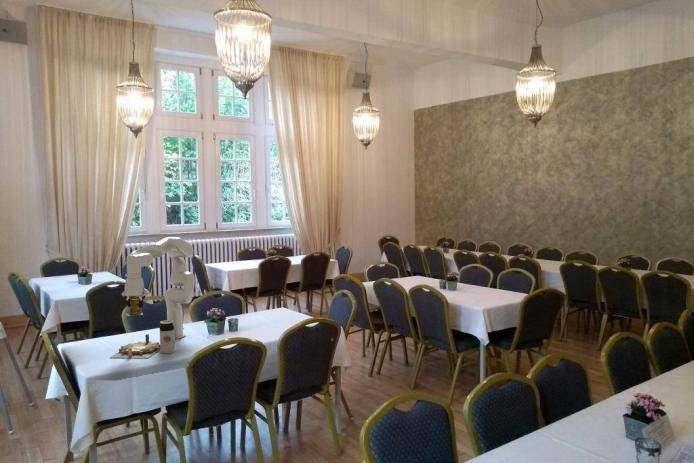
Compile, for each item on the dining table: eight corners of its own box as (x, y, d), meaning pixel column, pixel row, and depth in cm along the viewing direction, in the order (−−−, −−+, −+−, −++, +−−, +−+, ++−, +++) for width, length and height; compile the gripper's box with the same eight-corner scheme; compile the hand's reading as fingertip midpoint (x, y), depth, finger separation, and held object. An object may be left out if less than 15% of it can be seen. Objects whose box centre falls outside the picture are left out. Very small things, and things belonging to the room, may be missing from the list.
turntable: (132, 343, 333) (131, 332, 333) (168, 344, 330) (168, 333, 330) (110, 354, 310) (110, 343, 310) (149, 355, 307) (149, 344, 307)
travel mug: (162, 350, 321) (161, 320, 320) (176, 349, 322) (175, 319, 320) (158, 354, 313) (157, 323, 312) (172, 353, 314) (171, 322, 313)
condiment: (143, 314, 313) (142, 294, 313) (127, 316, 309) (127, 295, 308) (140, 312, 320) (140, 291, 319) (125, 313, 315) (124, 293, 314)
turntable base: (131, 345, 332) (130, 336, 332) (166, 345, 331) (166, 336, 331) (109, 358, 306) (109, 348, 306) (148, 358, 305) (147, 348, 304)
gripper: (116, 277, 309) (117, 308, 311) (146, 277, 308) (147, 308, 310) (122, 275, 317) (123, 305, 318) (151, 275, 316) (152, 305, 317)
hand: (135, 306), depth 314 cm, fingers closed on condiment, 6 cm apart
